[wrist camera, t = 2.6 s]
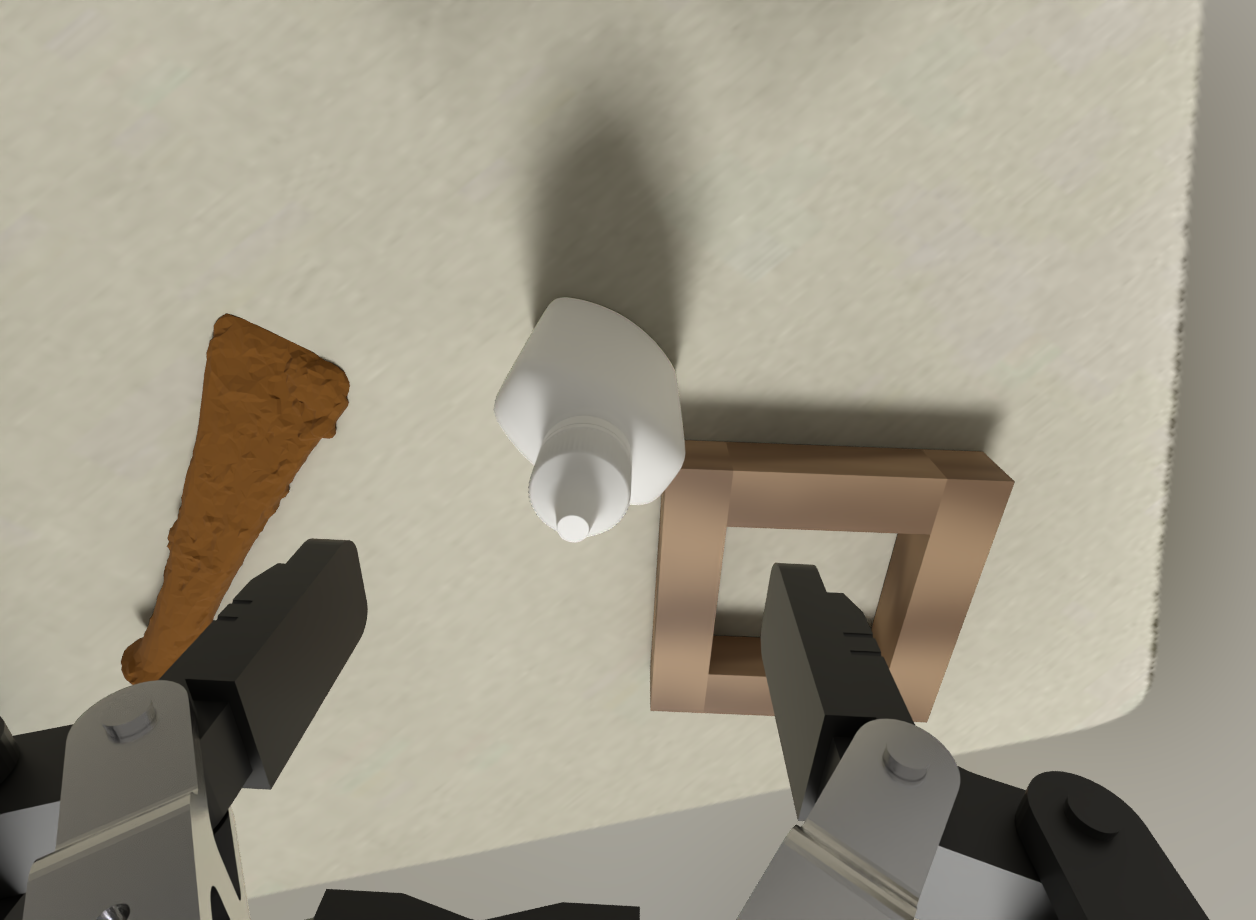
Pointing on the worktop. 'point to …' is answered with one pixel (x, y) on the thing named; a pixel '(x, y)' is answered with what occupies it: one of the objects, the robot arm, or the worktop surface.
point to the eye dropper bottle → (592, 417)
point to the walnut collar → (833, 501)
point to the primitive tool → (235, 476)
